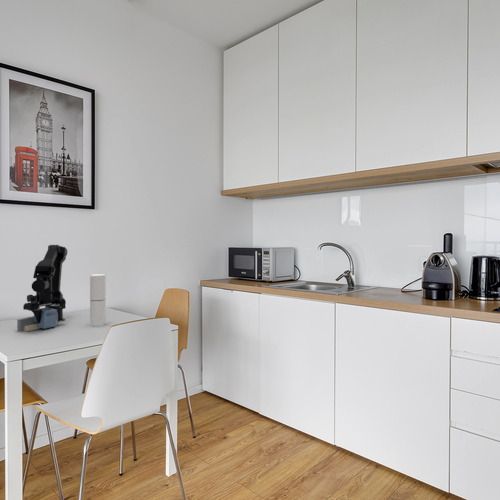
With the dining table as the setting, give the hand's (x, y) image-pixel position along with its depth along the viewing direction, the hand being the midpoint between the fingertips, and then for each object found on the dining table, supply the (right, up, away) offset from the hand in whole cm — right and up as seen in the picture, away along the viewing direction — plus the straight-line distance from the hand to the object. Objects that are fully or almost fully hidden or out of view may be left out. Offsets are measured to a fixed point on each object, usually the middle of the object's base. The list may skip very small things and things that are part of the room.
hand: (45, 321), depth 187 cm
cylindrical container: (+22, -3, +8) cm, 24 cm away
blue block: (0, -2, 0) cm, 2 cm away
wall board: (-4, -3, +2) cm, 6 cm away
